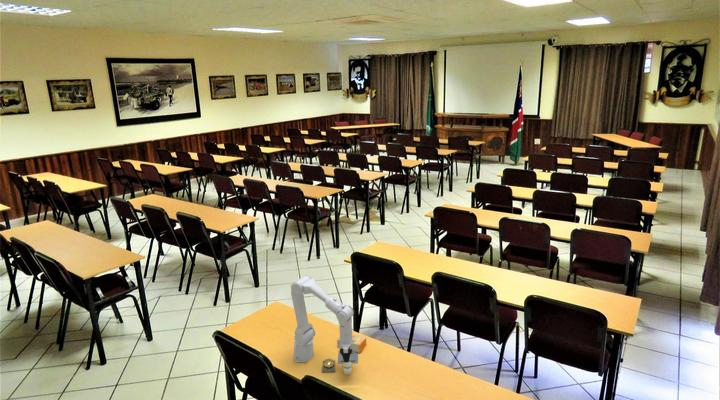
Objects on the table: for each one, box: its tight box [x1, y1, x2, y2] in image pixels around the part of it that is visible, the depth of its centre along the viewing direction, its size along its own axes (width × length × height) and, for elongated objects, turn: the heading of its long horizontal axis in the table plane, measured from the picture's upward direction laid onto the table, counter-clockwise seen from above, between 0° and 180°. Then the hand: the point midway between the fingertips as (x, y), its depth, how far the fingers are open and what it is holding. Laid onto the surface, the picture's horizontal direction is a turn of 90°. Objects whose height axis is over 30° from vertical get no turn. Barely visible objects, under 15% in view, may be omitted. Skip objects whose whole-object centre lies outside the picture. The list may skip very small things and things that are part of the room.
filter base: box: [337, 350, 359, 365], centre depth 213 cm, size 10×10×2 cm
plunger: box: [322, 358, 334, 367], centre depth 205 cm, size 5×5×4 cm
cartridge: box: [342, 361, 353, 376], centre depth 202 cm, size 4×4×5 cm
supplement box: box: [336, 334, 367, 354], centre depth 221 cm, size 8×5×13 cm
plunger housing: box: [321, 360, 336, 374], centre depth 205 cm, size 6×6×3 cm
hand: (346, 356), depth 200 cm, fingers open, 7 cm apart
